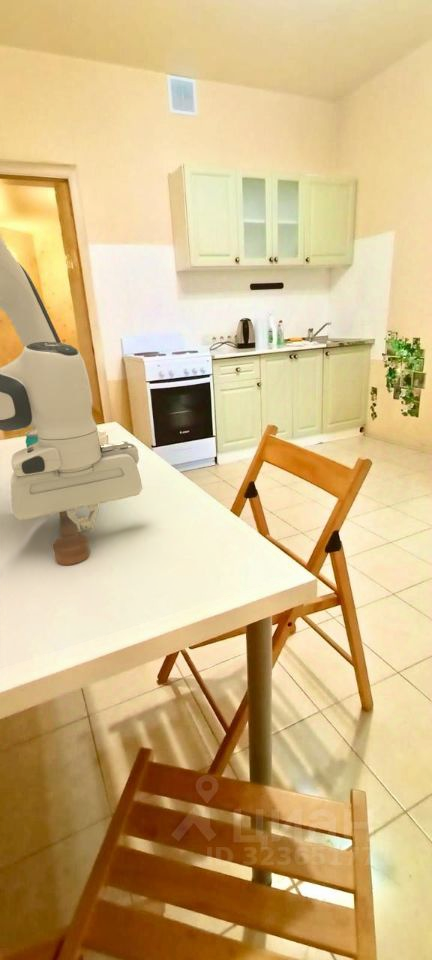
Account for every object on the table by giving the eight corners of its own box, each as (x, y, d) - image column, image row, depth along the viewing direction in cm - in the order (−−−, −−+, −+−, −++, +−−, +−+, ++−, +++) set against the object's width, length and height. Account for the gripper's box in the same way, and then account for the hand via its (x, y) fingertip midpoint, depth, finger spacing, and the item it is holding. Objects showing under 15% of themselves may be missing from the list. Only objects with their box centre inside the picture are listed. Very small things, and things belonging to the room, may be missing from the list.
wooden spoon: (53, 520, 83) (50, 507, 82) (82, 514, 85) (79, 501, 84) (55, 568, 67) (52, 553, 66) (91, 560, 68) (88, 545, 67)
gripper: (131, 435, 76) (141, 509, 81) (1, 456, 69) (21, 536, 74) (141, 443, 71) (151, 522, 76) (1, 468, 63) (22, 553, 68)
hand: (86, 529), depth 75 cm, fingers closed
